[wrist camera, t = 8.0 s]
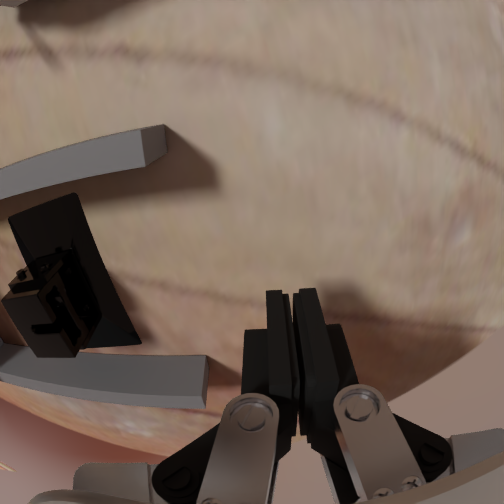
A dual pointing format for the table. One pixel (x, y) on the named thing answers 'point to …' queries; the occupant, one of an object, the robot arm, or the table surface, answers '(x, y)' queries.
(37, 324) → the black bracket part
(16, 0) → the robot toy
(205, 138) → the table surface
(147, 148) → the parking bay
